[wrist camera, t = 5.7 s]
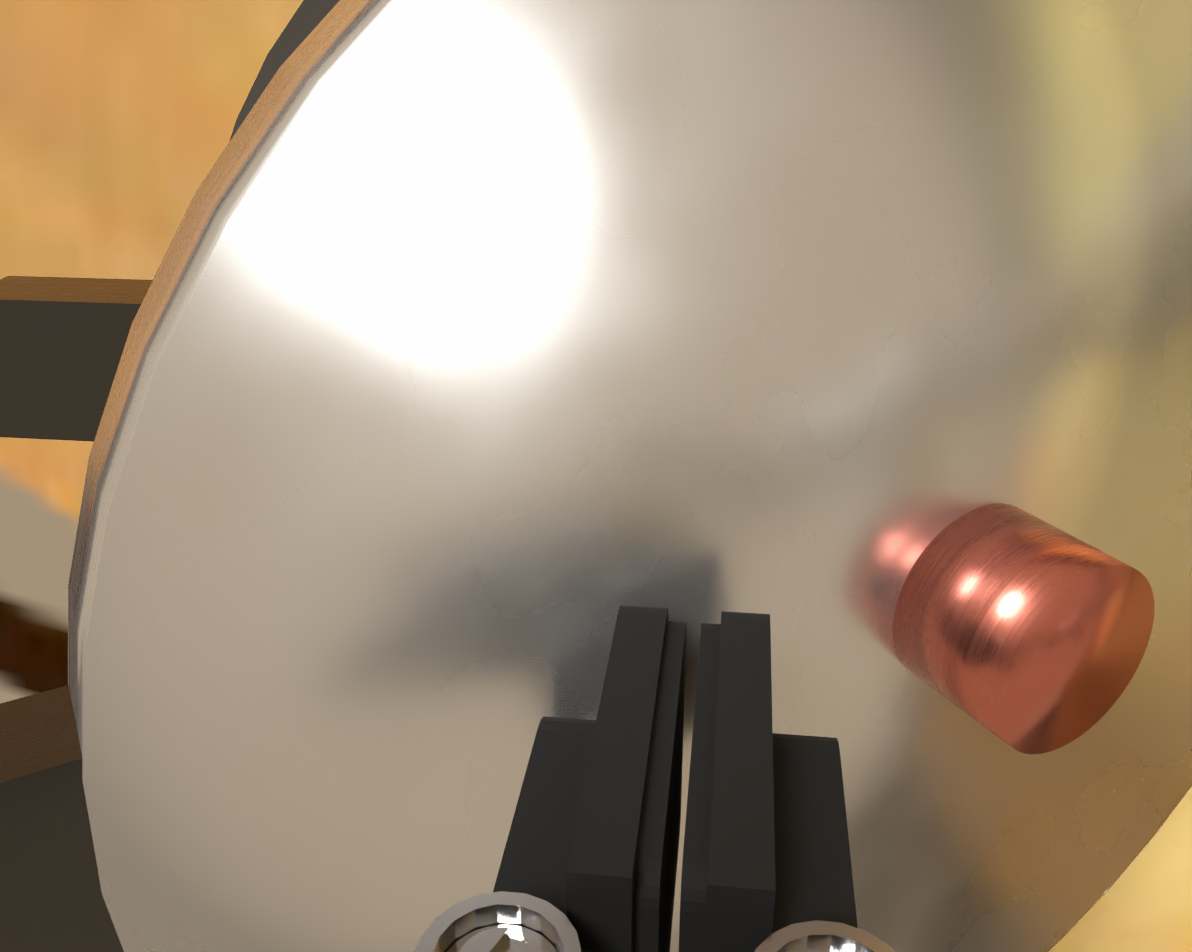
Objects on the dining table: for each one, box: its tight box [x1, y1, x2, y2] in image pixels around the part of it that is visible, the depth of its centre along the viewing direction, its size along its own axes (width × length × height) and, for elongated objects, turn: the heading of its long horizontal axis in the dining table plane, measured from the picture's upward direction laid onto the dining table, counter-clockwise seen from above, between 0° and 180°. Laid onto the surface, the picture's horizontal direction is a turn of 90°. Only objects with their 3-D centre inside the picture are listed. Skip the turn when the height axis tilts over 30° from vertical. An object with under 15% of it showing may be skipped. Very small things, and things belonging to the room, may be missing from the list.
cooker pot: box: [0, 0, 340, 441], centre depth 26 cm, size 25×20×10 cm
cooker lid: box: [0, 0, 1192, 952], centre depth 13 cm, size 23×20×3 cm
